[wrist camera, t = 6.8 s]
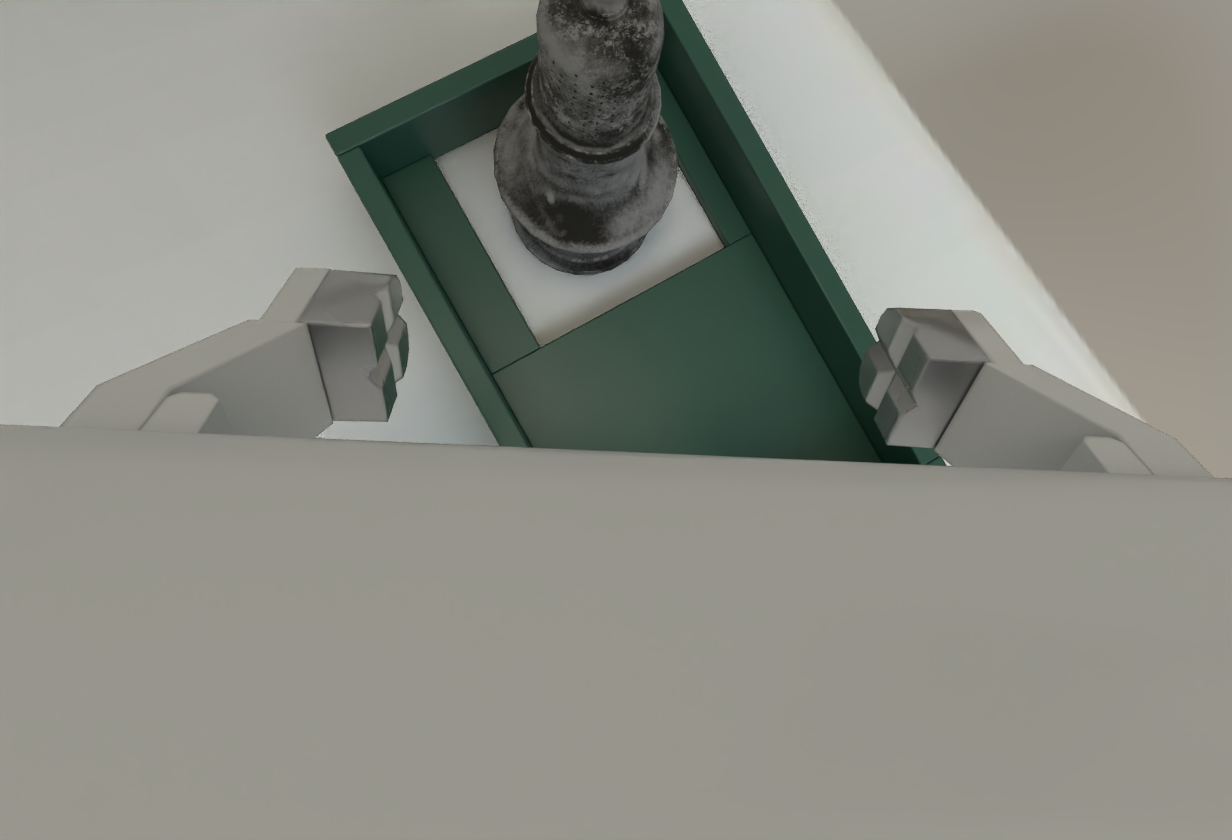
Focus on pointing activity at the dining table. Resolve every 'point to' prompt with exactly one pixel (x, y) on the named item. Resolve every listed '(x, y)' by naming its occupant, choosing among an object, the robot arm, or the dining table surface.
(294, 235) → the dining table surface
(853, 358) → the tray
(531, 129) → the stone chess piece
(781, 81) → the dining table surface
